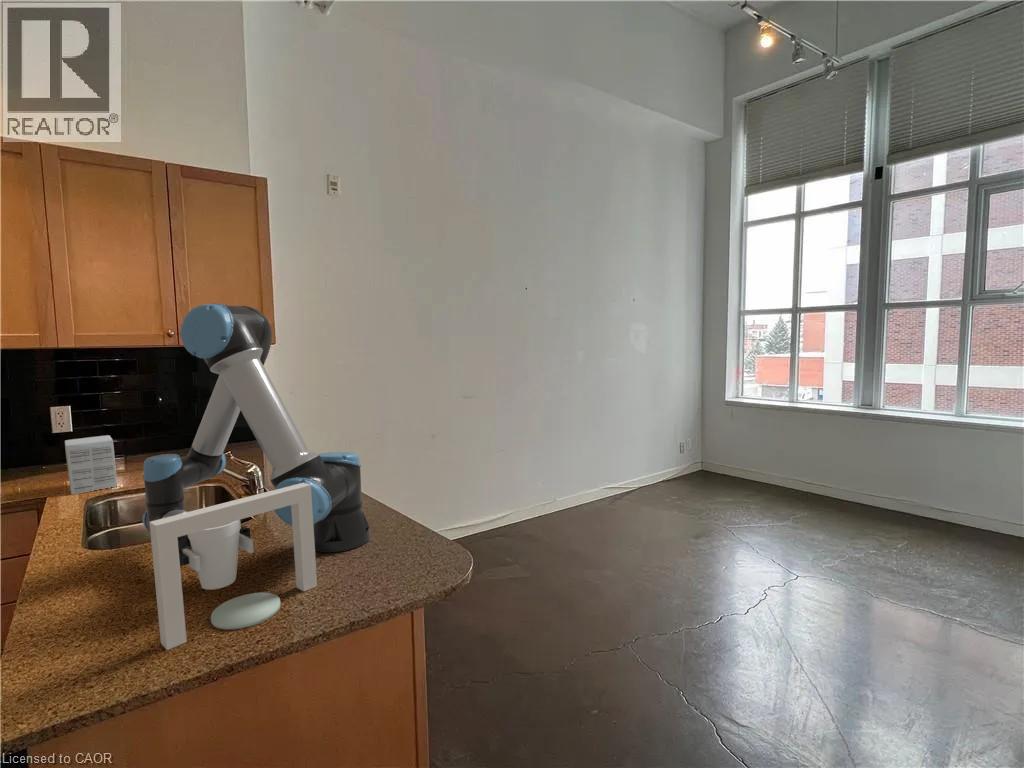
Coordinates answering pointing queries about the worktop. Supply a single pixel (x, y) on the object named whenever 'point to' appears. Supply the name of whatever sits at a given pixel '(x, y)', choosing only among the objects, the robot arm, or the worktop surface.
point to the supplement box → (90, 464)
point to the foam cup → (217, 554)
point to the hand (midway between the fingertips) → (225, 555)
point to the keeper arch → (167, 530)
